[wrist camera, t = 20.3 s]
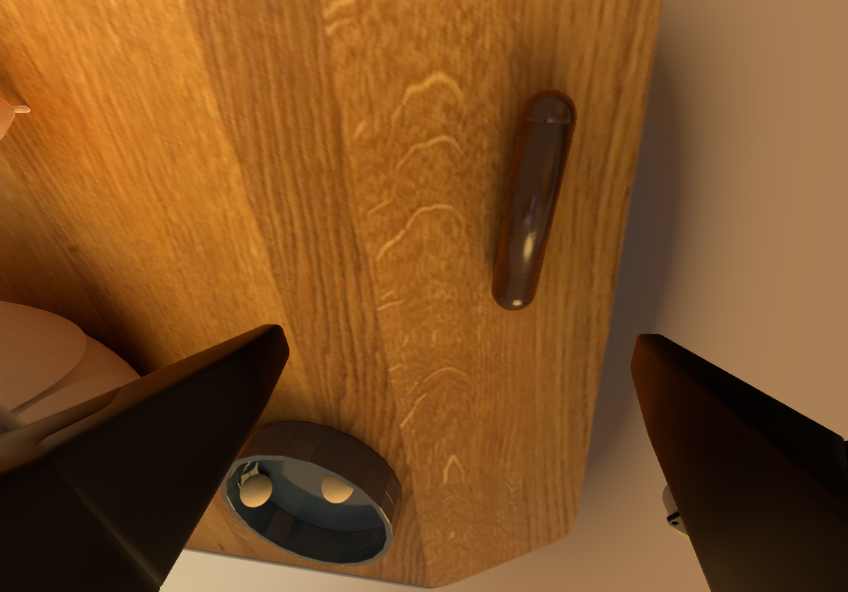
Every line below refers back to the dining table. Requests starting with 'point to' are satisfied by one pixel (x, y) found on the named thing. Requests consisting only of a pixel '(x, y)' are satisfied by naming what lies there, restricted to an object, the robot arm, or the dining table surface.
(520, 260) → the stick
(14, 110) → the spinning top
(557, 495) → the dining table surface
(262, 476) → the dough ball
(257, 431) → the round shallow dish
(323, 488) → the dough ball
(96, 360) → the decorative bowl
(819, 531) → the robot arm
